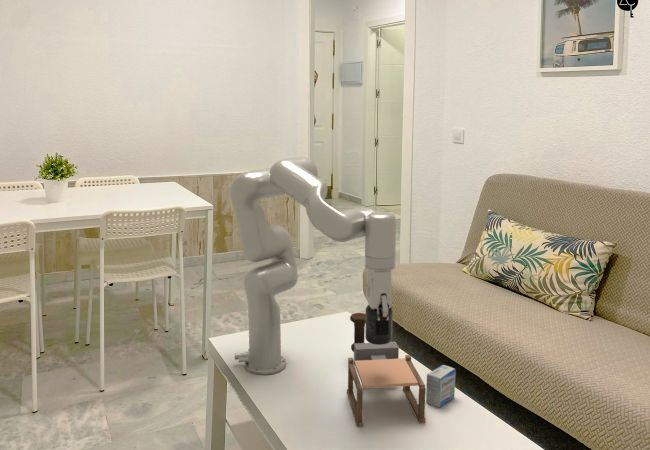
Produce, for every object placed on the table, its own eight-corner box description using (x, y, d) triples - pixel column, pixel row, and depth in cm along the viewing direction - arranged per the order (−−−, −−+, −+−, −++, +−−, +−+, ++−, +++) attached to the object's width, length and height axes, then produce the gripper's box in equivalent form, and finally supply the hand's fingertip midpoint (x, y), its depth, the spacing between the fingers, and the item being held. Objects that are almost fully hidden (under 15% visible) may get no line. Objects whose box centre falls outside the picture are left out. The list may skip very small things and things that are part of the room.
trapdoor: (363, 395, 150) (363, 378, 149) (350, 358, 170) (350, 343, 169) (417, 392, 152) (418, 375, 151) (398, 356, 172) (398, 341, 171)
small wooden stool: (356, 426, 150) (357, 386, 148) (346, 393, 167) (347, 356, 164) (425, 422, 152) (426, 383, 149) (408, 389, 169) (409, 353, 166)
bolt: (368, 357, 188) (369, 313, 185) (368, 365, 183) (368, 319, 180) (350, 357, 189) (350, 312, 186) (349, 364, 184) (349, 318, 181)
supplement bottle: (386, 333, 157) (387, 289, 155) (396, 343, 151) (397, 298, 148) (361, 336, 156) (362, 292, 153) (370, 346, 149) (371, 301, 147)
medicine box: (439, 408, 159) (441, 378, 157) (425, 402, 162) (426, 373, 160) (454, 397, 164) (456, 368, 163) (440, 392, 167) (442, 363, 165)
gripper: (359, 252, 157) (359, 317, 161) (371, 272, 140) (370, 343, 144) (387, 252, 158) (386, 315, 161) (402, 271, 141) (401, 341, 145)
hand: (379, 328), depth 153 cm, fingers closed on supplement bottle, 6 cm apart
